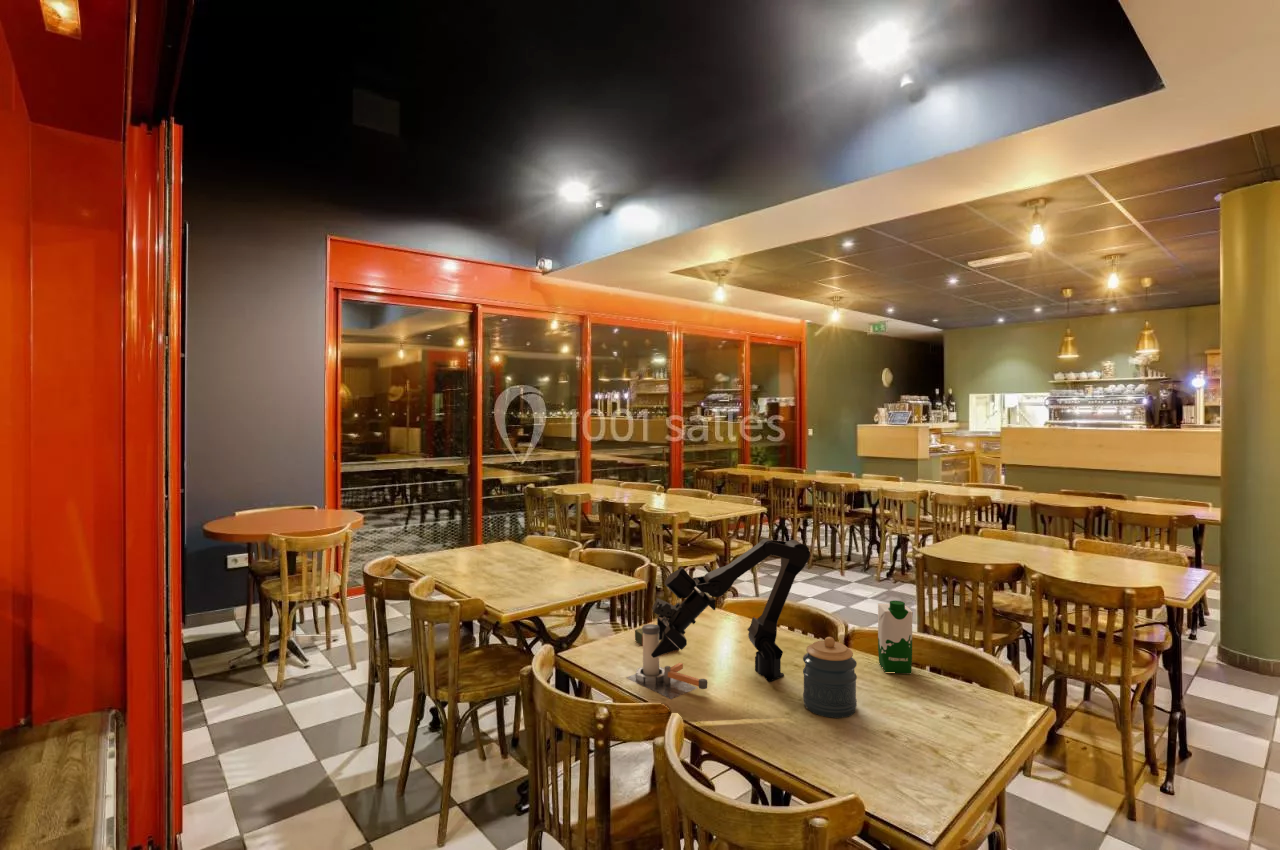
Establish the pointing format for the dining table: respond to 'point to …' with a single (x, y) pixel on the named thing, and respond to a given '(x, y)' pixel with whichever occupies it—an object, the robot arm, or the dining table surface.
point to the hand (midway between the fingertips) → (650, 650)
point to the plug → (650, 649)
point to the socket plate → (661, 683)
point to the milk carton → (895, 637)
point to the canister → (829, 679)
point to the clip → (682, 676)
